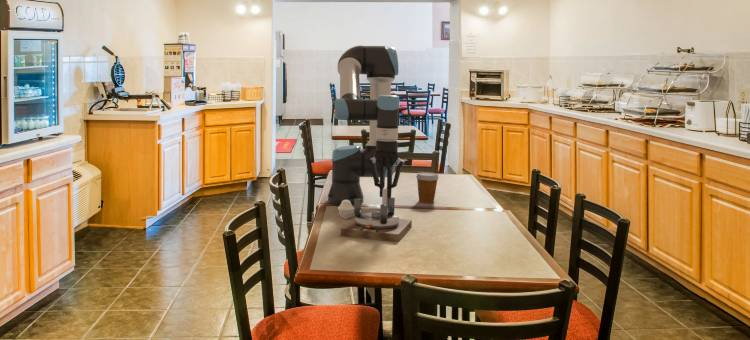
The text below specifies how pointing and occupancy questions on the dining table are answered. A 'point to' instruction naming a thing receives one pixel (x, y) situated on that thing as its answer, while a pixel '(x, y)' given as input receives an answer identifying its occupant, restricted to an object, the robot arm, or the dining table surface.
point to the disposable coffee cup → (427, 186)
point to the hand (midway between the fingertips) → (385, 206)
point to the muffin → (346, 209)
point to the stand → (376, 231)
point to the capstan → (376, 216)
